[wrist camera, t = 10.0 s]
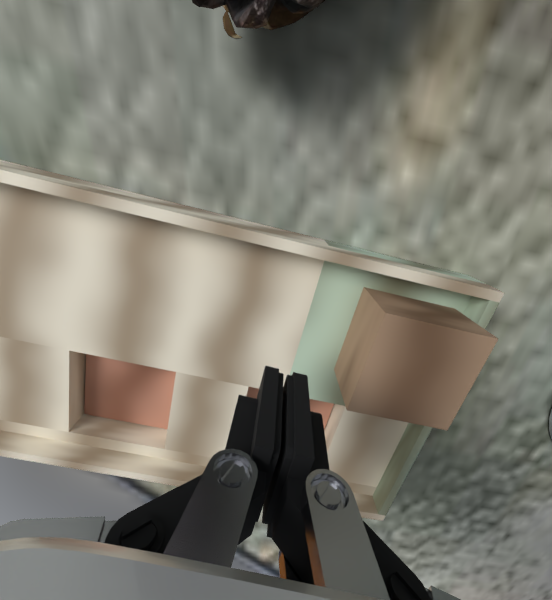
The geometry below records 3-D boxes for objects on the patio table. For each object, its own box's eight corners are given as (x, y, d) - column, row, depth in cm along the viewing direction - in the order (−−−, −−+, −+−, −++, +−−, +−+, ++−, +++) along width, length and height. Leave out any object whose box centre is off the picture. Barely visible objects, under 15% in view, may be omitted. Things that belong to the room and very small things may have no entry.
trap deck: (468, 275, 21) (504, 293, 17) (369, 480, 27) (382, 520, 24) (-6, 158, 18) (-68, 152, 15) (13, 415, 25) (-28, 451, 21)
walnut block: (454, 308, 19) (498, 339, 16) (417, 387, 21) (447, 430, 18) (363, 286, 19) (385, 312, 15) (333, 369, 21) (346, 410, 17)
